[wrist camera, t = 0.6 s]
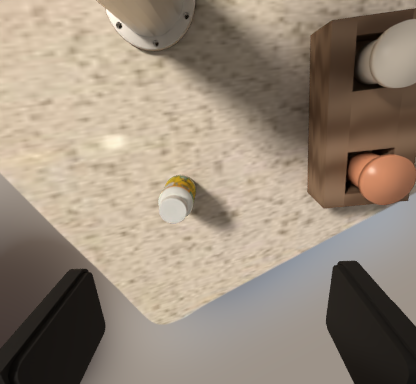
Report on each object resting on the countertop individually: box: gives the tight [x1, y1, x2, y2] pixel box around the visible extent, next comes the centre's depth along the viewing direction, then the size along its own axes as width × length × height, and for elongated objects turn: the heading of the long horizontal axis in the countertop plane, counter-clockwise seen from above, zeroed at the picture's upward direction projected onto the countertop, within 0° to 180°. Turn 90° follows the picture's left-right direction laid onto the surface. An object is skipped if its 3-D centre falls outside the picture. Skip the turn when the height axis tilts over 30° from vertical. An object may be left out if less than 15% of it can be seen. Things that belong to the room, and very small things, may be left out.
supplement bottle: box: [158, 175, 196, 224], centre depth 39 cm, size 5×5×10 cm
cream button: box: [354, 19, 416, 88], centre depth 29 cm, size 6×6×6 cm
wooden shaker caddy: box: [307, 8, 416, 208], centre depth 36 cm, size 24×12×7 cm, turn 7°
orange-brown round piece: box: [346, 152, 416, 205], centre depth 34 cm, size 6×6×6 cm
